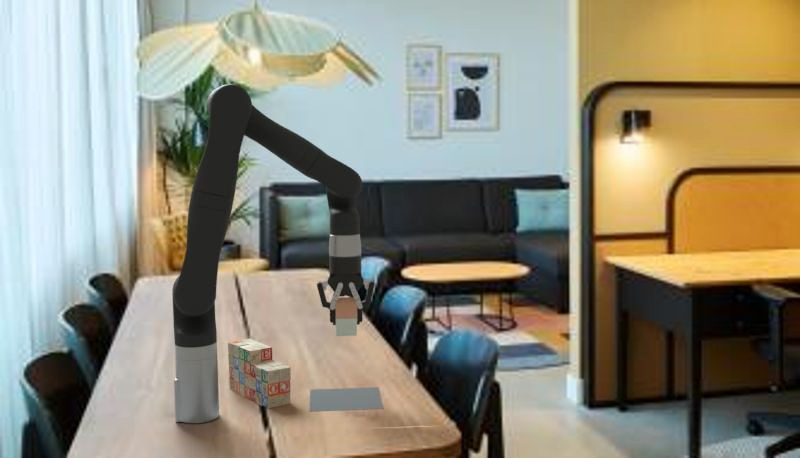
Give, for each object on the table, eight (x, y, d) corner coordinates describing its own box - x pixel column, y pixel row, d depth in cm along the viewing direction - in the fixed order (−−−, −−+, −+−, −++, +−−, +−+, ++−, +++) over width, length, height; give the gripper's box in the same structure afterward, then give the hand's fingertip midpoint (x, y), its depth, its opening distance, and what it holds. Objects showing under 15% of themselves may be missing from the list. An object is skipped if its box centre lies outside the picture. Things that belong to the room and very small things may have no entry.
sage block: (335, 336, 203) (335, 315, 196) (335, 318, 206) (335, 297, 199) (356, 335, 203) (357, 315, 196) (355, 318, 206) (356, 297, 199)
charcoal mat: (309, 413, 193) (309, 411, 193) (310, 391, 210) (310, 389, 210) (383, 410, 195) (383, 408, 195) (378, 388, 212) (378, 387, 212)
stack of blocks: (291, 405, 200) (290, 354, 198) (267, 410, 196) (266, 358, 195) (251, 384, 217) (250, 337, 216) (228, 388, 213) (227, 341, 212)
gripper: (314, 256, 194) (315, 328, 196) (376, 254, 195) (377, 326, 197) (314, 251, 201) (316, 321, 203) (374, 250, 203) (375, 320, 204)
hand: (346, 323), depth 200 cm, fingers closed on sage block, 5 cm apart
